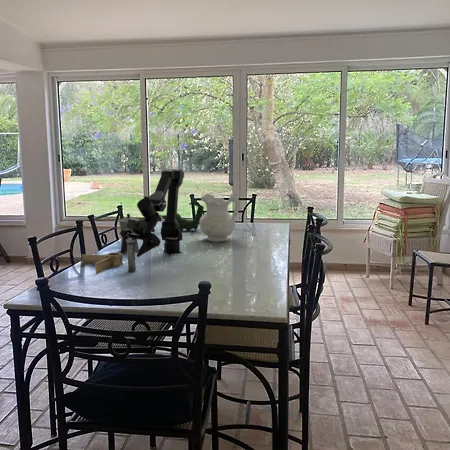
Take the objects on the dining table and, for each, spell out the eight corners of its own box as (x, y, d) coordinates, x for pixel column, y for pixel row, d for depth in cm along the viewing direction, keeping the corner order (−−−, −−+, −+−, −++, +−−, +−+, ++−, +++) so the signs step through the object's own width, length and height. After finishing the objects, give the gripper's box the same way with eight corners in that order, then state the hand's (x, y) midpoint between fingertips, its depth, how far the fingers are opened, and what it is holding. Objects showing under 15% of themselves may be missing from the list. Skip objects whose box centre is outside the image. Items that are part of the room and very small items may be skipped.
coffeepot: (144, 252, 214) (143, 214, 211) (125, 255, 209) (124, 216, 206) (132, 246, 226) (130, 210, 223) (113, 248, 221) (112, 212, 218)
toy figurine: (202, 232, 273) (161, 228, 273) (205, 200, 269) (163, 197, 270) (200, 235, 263) (158, 231, 264) (203, 202, 260) (160, 198, 261)
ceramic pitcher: (241, 238, 250) (241, 193, 248) (238, 243, 231) (238, 194, 229) (202, 238, 253) (202, 193, 250) (196, 242, 233) (196, 194, 231)
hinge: (113, 259, 201) (113, 249, 201) (129, 268, 186) (129, 257, 185) (82, 263, 194) (81, 253, 193) (96, 273, 179) (95, 262, 178)
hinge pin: (134, 269, 184) (133, 238, 182) (138, 271, 181) (137, 239, 179) (125, 270, 182) (124, 239, 180) (129, 273, 179) (128, 240, 177)
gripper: (122, 209, 187) (101, 240, 180) (154, 213, 176) (134, 246, 169) (136, 225, 194) (118, 256, 187) (169, 230, 183) (150, 262, 176)
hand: (129, 254), depth 180 cm, fingers open, 9 cm apart
